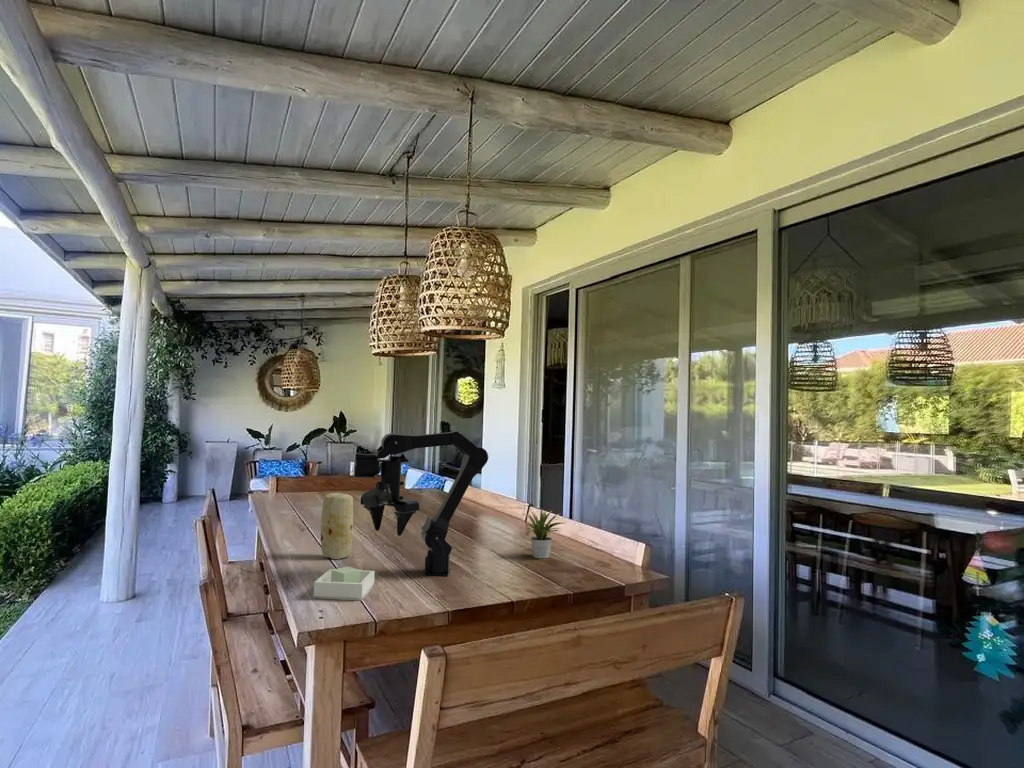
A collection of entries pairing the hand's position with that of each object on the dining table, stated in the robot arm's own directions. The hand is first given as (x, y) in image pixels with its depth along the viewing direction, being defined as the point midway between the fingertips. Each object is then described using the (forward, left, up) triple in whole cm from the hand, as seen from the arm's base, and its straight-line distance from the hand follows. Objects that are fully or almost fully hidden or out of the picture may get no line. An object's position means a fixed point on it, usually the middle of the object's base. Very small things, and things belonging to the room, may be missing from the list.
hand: (388, 533), depth 170 cm
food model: (+20, -17, -12) cm, 29 cm away
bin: (+7, +16, -12) cm, 21 cm away
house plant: (-44, -27, -12) cm, 53 cm away
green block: (+7, +16, -11) cm, 21 cm away
